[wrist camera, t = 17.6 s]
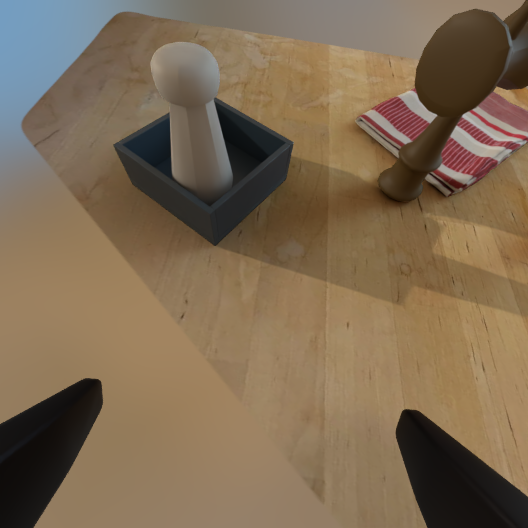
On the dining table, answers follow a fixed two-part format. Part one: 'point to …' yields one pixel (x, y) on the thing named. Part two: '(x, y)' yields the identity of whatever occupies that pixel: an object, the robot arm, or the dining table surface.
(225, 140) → the bin
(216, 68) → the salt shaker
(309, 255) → the dining table surface
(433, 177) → the dish towel
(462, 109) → the kendama
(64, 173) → the dining table surface
